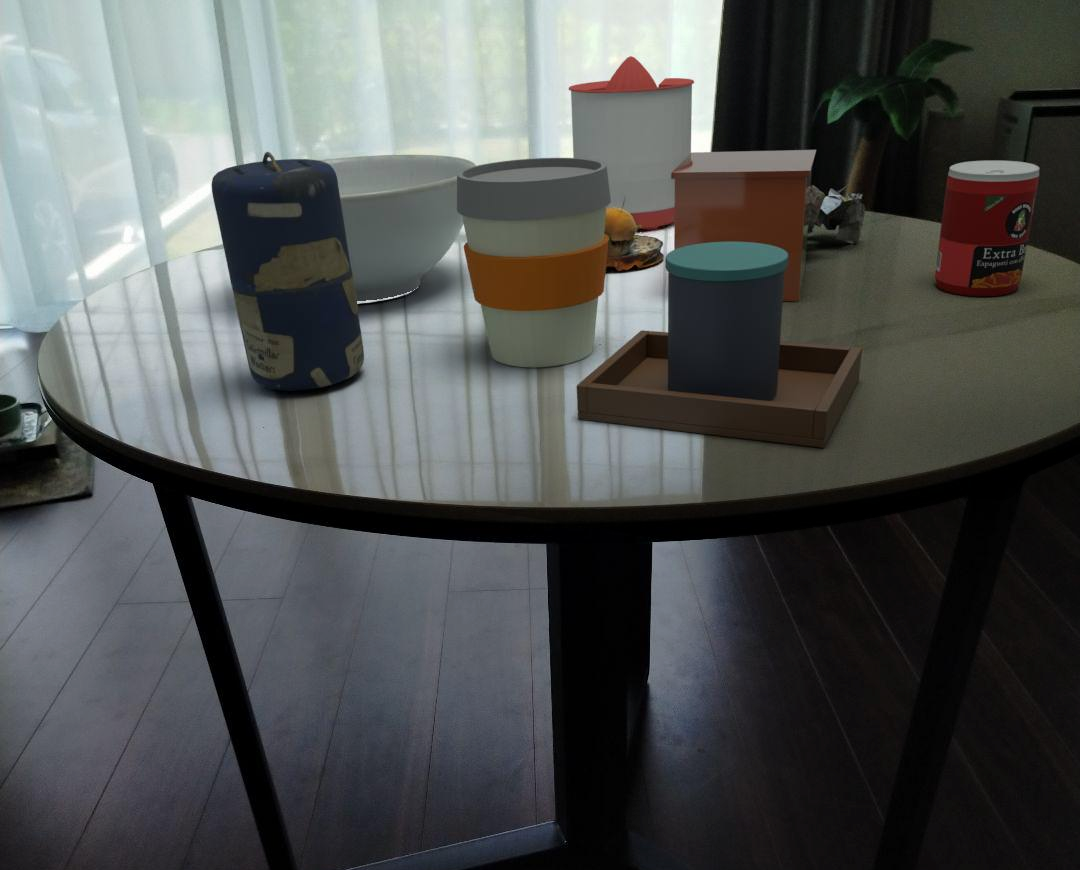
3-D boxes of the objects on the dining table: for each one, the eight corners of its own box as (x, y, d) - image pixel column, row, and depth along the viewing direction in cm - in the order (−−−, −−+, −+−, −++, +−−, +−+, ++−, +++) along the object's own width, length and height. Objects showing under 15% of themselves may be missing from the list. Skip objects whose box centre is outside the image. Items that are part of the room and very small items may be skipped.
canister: (366, 355, 88) (334, 139, 80) (368, 391, 80) (333, 153, 71) (256, 367, 87) (212, 148, 78) (247, 404, 79) (196, 165, 70)
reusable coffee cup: (443, 351, 88) (424, 173, 81) (556, 320, 94) (547, 153, 87) (525, 385, 79) (512, 188, 72) (644, 349, 85) (643, 164, 78)
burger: (645, 245, 120) (645, 180, 117) (678, 266, 110) (679, 196, 106) (549, 255, 118) (545, 190, 115) (573, 278, 108) (570, 207, 104)
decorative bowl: (434, 250, 124) (423, 147, 118) (527, 295, 103) (519, 172, 97) (217, 285, 114) (193, 175, 109) (270, 343, 93) (244, 210, 87)
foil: (907, 220, 109) (811, 152, 102) (849, 307, 112) (753, 248, 105) (848, 198, 118) (757, 135, 111) (797, 279, 122) (706, 223, 115)
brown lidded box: (807, 270, 105) (816, 149, 100) (801, 302, 95) (810, 170, 89) (689, 268, 109) (690, 152, 103) (670, 300, 98) (670, 172, 93)
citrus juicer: (703, 209, 137) (707, 48, 128) (679, 236, 123) (681, 57, 113) (594, 209, 142) (590, 53, 132) (559, 235, 128) (551, 63, 118)
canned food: (977, 302, 92) (996, 177, 86) (915, 284, 98) (929, 166, 93) (1038, 288, 94) (1061, 166, 89) (974, 272, 101) (991, 157, 96)
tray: (859, 380, 76) (862, 347, 75) (824, 448, 65) (827, 411, 64) (641, 360, 83) (640, 329, 82) (577, 419, 72) (576, 385, 71)
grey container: (791, 378, 75) (800, 243, 71) (763, 417, 69) (771, 272, 64) (685, 367, 79) (687, 239, 74) (648, 404, 72) (648, 266, 67)
